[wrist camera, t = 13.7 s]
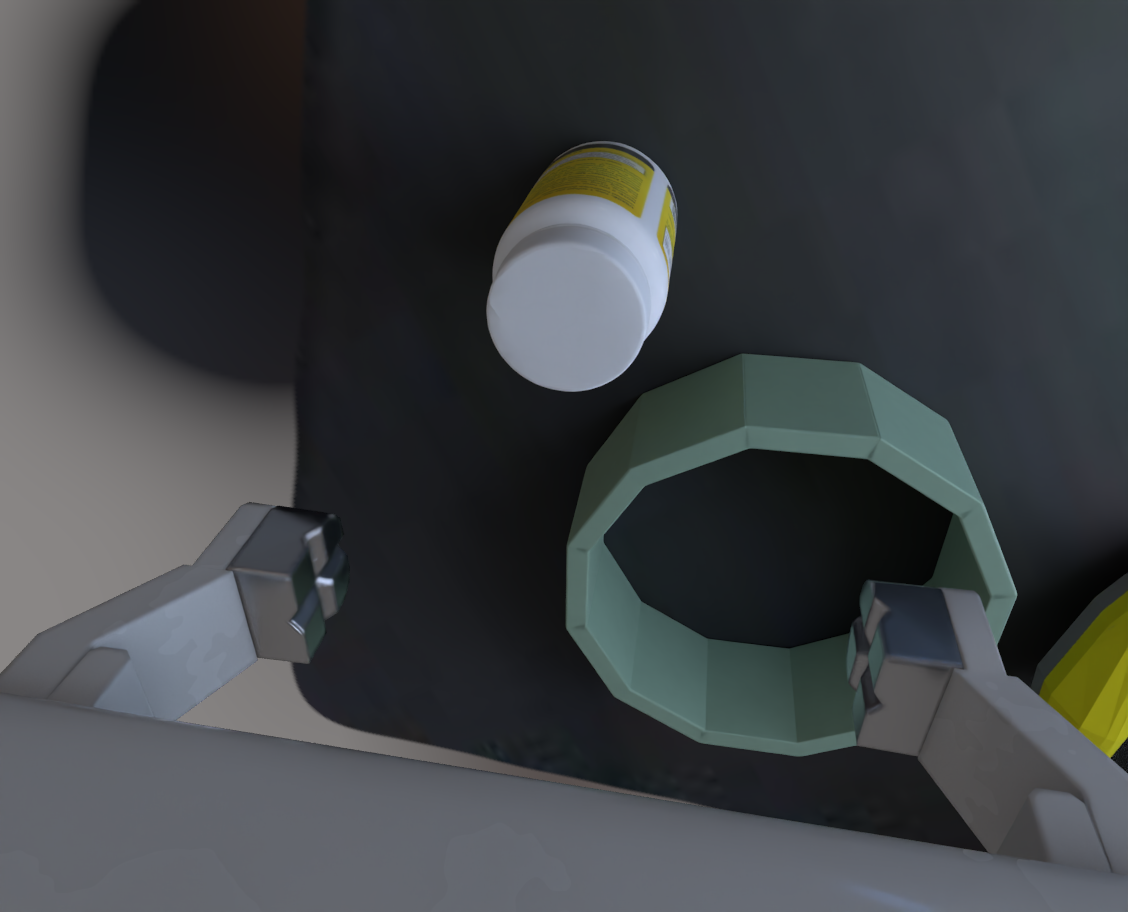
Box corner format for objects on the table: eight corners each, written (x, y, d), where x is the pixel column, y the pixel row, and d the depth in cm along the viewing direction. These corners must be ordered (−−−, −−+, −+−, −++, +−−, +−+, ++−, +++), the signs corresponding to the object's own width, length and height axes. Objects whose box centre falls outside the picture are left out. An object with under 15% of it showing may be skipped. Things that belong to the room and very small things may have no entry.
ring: (590, 340, 30) (568, 409, 26) (1024, 374, 28) (1076, 455, 24) (581, 635, 38) (563, 724, 34) (918, 677, 36) (943, 777, 32)
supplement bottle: (504, 197, 28) (429, 295, 21) (620, 105, 25) (580, 180, 18) (592, 310, 29) (550, 436, 22) (707, 232, 27) (701, 344, 20)
